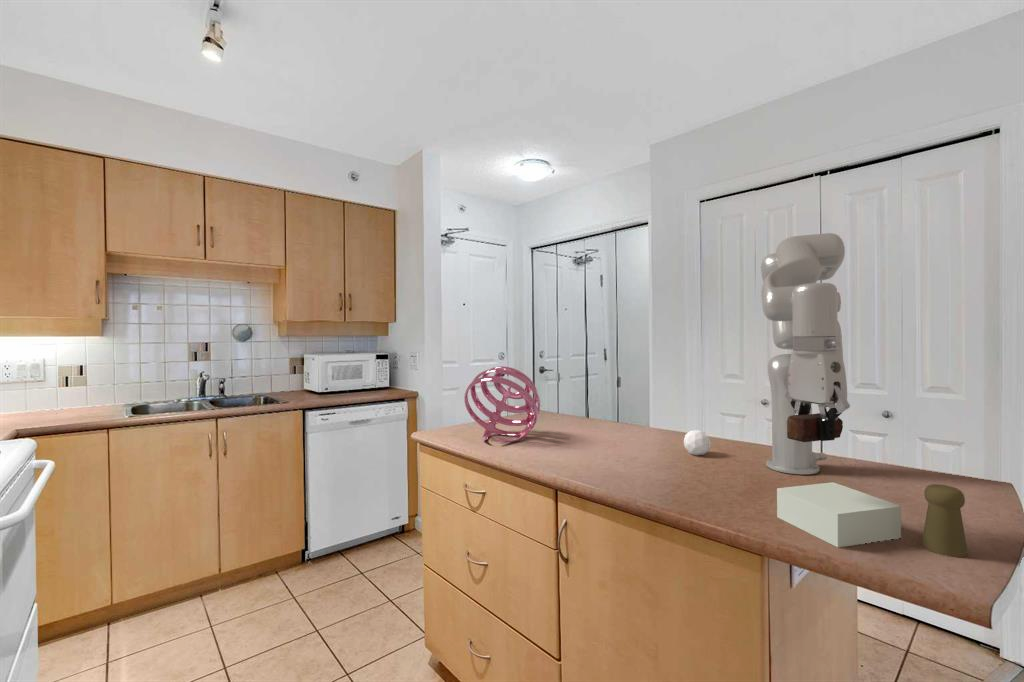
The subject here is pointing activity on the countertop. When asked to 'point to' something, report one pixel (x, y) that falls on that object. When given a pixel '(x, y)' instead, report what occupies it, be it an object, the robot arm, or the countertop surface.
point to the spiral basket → (504, 402)
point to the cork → (944, 521)
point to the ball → (697, 442)
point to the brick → (808, 427)
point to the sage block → (839, 514)
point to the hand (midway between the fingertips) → (815, 436)
